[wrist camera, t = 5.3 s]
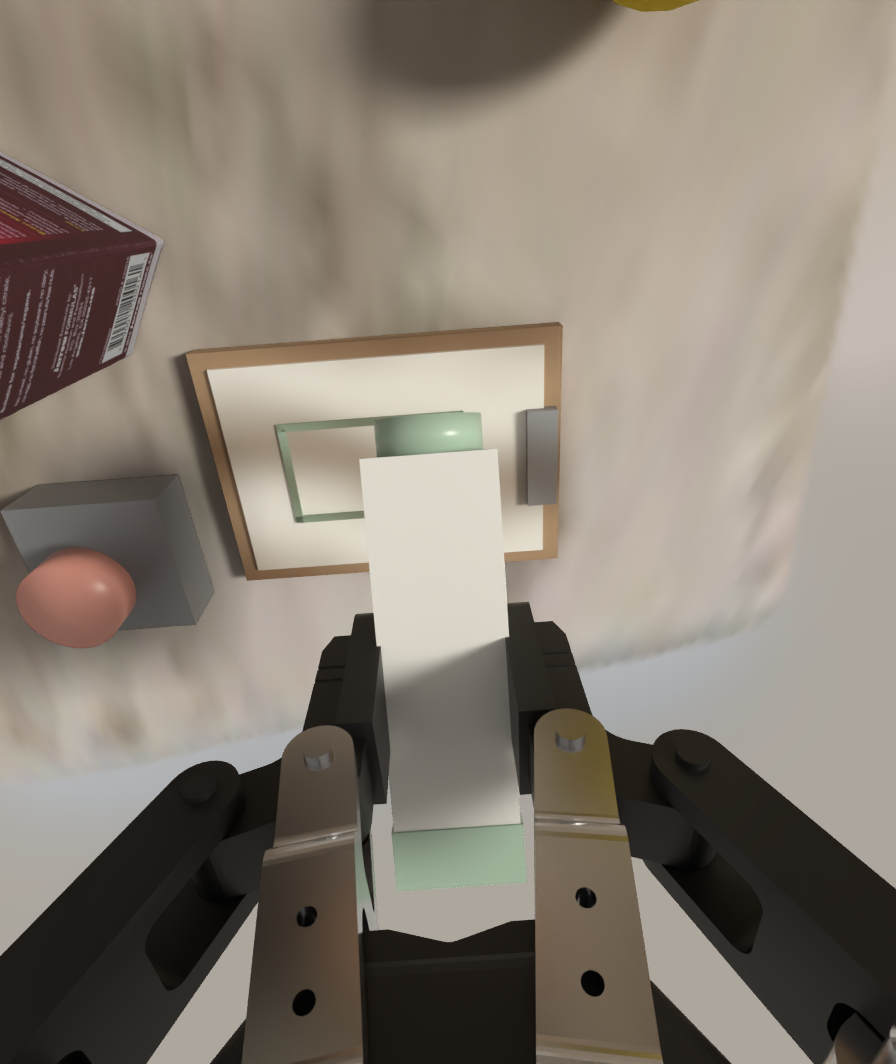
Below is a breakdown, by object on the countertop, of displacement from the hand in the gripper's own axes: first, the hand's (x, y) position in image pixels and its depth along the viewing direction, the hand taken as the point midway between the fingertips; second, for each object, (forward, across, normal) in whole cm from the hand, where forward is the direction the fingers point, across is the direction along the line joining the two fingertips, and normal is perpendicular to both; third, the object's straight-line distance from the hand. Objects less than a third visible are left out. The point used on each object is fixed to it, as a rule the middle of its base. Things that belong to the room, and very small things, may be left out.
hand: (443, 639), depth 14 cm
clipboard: (+12, +2, 0) cm, 12 cm away
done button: (+9, +14, +3) cm, 17 cm away
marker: (+2, 0, -5) cm, 5 cm away
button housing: (+12, +14, +3) cm, 19 cm away
